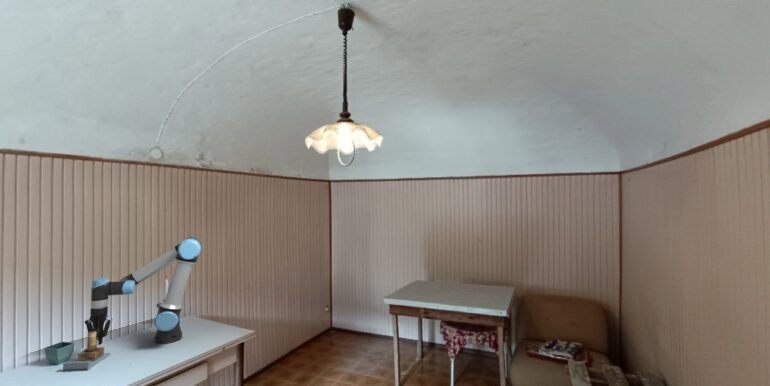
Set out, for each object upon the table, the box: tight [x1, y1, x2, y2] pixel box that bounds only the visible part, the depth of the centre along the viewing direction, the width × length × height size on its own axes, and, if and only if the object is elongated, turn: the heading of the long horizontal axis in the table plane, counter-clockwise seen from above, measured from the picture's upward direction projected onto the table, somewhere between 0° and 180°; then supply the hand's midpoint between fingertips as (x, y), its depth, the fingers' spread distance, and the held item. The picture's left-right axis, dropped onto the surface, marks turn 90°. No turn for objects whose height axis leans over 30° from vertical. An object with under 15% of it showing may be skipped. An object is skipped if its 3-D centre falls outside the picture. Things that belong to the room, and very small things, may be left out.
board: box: [62, 352, 111, 373], centre depth 189 cm, size 11×19×4 cm, turn 9°
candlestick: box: [156, 274, 169, 308], centre depth 250 cm, size 11×11×35 cm
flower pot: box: [44, 341, 76, 365], centre depth 189 cm, size 9×9×9 cm
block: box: [77, 346, 105, 361], centre depth 192 cm, size 8×8×4 cm
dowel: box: [86, 331, 97, 352], centre depth 192 cm, size 4×4×13 cm
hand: (97, 350), depth 197 cm, fingers closed
